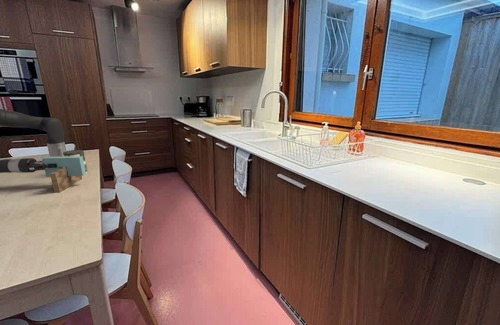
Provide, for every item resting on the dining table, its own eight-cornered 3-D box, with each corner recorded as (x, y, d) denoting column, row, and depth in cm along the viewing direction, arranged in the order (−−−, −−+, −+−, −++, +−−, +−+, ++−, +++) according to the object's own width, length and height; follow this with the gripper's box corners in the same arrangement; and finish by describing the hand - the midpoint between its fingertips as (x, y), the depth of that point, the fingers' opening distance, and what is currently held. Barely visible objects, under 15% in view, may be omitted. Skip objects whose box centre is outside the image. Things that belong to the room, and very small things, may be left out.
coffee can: (81, 170, 156) (77, 149, 152) (91, 172, 151) (87, 150, 147) (64, 174, 147) (58, 152, 143) (74, 177, 142) (69, 154, 139)
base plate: (77, 179, 139) (74, 162, 136) (82, 178, 139) (78, 162, 137) (54, 192, 120) (49, 173, 117) (59, 192, 120) (55, 173, 117)
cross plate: (50, 174, 128) (46, 156, 126) (85, 173, 130) (82, 156, 127) (46, 176, 125) (41, 158, 123) (82, 175, 127) (79, 157, 125)
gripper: (9, 162, 116) (48, 161, 118) (31, 155, 130) (65, 154, 132) (13, 176, 118) (51, 175, 120) (35, 168, 132) (68, 167, 134)
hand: (58, 164), depth 126 cm, fingers closed on cross plate, 3 cm apart
